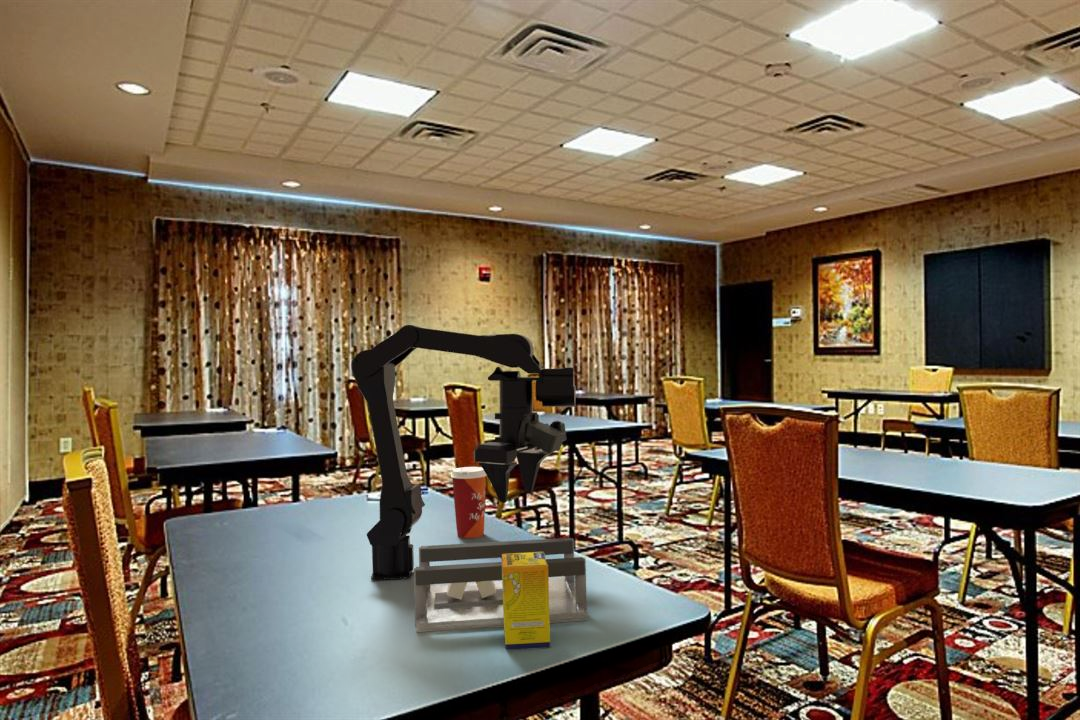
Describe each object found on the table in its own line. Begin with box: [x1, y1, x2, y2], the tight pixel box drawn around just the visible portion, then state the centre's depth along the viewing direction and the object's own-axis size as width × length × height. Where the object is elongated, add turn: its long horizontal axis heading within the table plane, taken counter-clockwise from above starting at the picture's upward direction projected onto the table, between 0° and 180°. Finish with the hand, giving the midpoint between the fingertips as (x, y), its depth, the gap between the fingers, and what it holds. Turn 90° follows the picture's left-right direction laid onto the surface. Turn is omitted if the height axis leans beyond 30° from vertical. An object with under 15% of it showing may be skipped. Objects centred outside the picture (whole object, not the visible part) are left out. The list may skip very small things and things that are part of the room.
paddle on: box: [447, 582, 468, 600], centre depth 105 cm, size 2×3×3 cm, turn 6°
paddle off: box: [476, 581, 496, 598], centre depth 106 cm, size 2×3×3 cm, turn 6°
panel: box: [415, 576, 589, 633], centre depth 106 cm, size 24×16×2 cm, turn 96°
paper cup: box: [450, 466, 487, 540], centre depth 148 cm, size 8×8×14 cm
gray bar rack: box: [413, 537, 588, 627], centre depth 106 cm, size 25×13×8 cm, turn 96°
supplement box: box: [501, 552, 551, 651], centre depth 93 cm, size 6×6×11 cm
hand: (516, 497), depth 121 cm, fingers open, 9 cm apart
